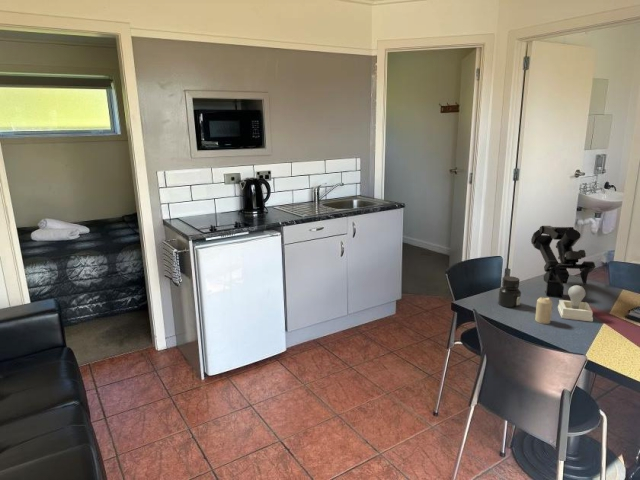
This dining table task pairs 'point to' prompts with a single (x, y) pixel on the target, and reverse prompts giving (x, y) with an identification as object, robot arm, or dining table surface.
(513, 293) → the ink bottle
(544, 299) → the candle
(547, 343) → the dining table surface
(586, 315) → the socket
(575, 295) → the lightbulb
